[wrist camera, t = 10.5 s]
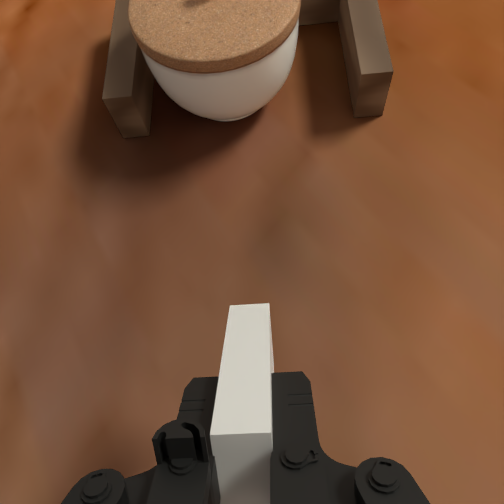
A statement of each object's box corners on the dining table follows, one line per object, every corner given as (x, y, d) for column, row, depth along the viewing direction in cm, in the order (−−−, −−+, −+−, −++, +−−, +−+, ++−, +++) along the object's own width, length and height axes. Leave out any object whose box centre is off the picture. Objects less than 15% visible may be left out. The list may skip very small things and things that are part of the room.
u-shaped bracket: (123, 138, 33) (102, 99, 29) (135, 26, 38) (118, -19, 34) (382, 115, 32) (393, 71, 28) (359, 2, 37) (366, -48, 33)
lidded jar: (133, 103, 34) (79, -12, 26) (223, 22, 37) (202, -105, 29) (236, 172, 31) (214, 64, 22) (328, 77, 34) (339, -50, 25)
